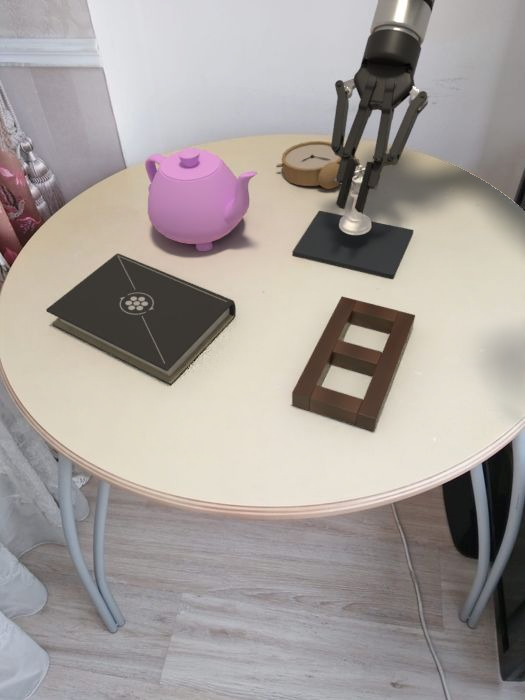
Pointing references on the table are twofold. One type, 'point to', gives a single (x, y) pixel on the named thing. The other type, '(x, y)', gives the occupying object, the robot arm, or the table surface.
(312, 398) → the holder
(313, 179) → the alarm clock
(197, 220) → the teapot
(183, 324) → the book
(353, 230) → the chess piece
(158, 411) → the table surface
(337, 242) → the mat
